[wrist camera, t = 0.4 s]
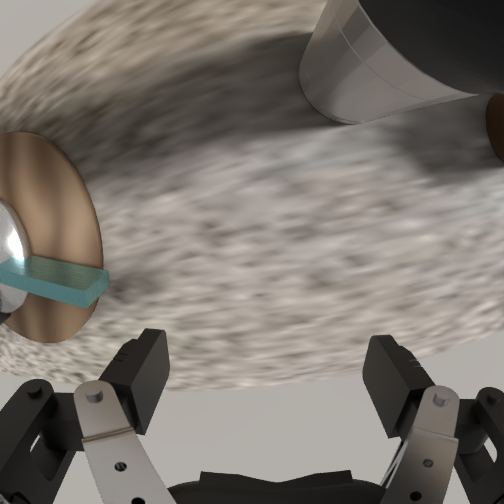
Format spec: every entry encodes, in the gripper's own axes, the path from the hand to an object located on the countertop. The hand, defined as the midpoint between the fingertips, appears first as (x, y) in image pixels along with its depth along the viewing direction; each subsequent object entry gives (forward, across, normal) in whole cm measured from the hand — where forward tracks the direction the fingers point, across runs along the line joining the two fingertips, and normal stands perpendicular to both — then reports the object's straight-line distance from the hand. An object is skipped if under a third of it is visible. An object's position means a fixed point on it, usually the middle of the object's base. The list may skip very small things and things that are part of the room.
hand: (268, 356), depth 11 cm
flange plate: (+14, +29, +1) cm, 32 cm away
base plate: (+19, +31, +1) cm, 36 cm away
